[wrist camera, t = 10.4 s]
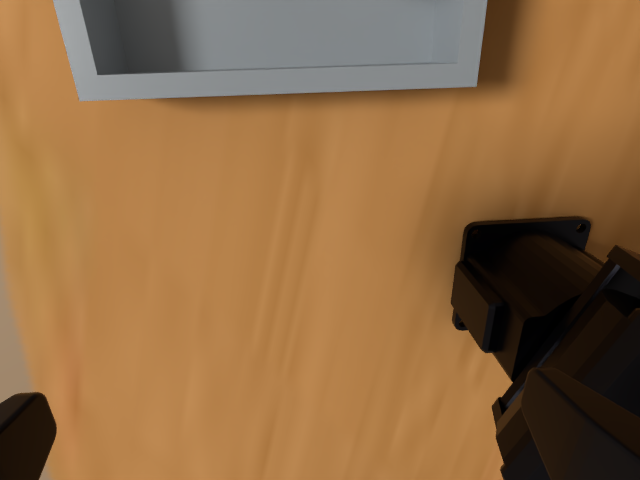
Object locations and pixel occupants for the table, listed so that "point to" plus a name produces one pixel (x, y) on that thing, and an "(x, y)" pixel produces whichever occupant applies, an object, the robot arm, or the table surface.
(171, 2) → the tray
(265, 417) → the table surface
